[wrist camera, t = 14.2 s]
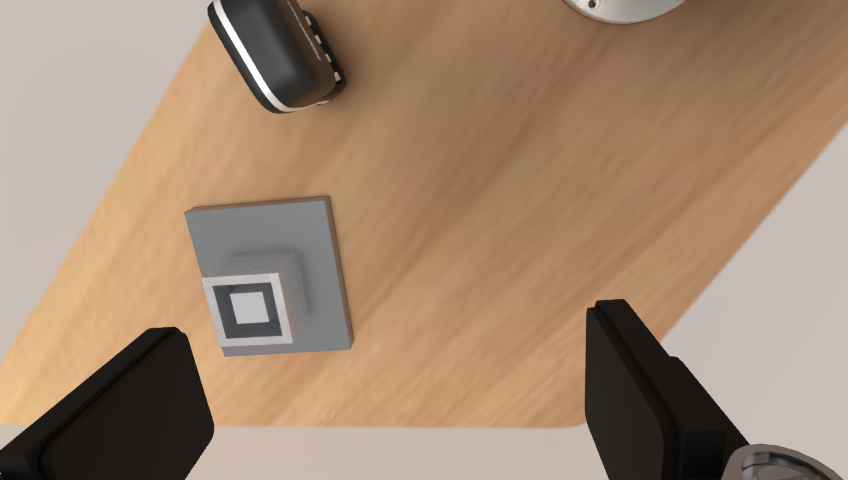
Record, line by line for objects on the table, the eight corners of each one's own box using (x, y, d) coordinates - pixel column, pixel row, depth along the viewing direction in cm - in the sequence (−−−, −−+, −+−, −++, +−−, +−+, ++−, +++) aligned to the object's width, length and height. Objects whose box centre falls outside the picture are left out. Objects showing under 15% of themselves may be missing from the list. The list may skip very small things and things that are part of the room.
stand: (329, 196, 39) (308, 215, 33) (353, 340, 43) (339, 379, 37) (193, 207, 40) (150, 228, 34) (231, 347, 44) (199, 387, 38)
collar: (299, 249, 39) (278, 273, 34) (311, 312, 41) (293, 343, 36) (231, 254, 39) (201, 277, 35) (246, 316, 41) (219, 346, 36)
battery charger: (361, 85, 36) (323, 88, 25) (320, 109, 36) (265, 120, 26) (315, -4, 34) (251, -43, 23) (272, 23, 34) (191, -4, 24)
